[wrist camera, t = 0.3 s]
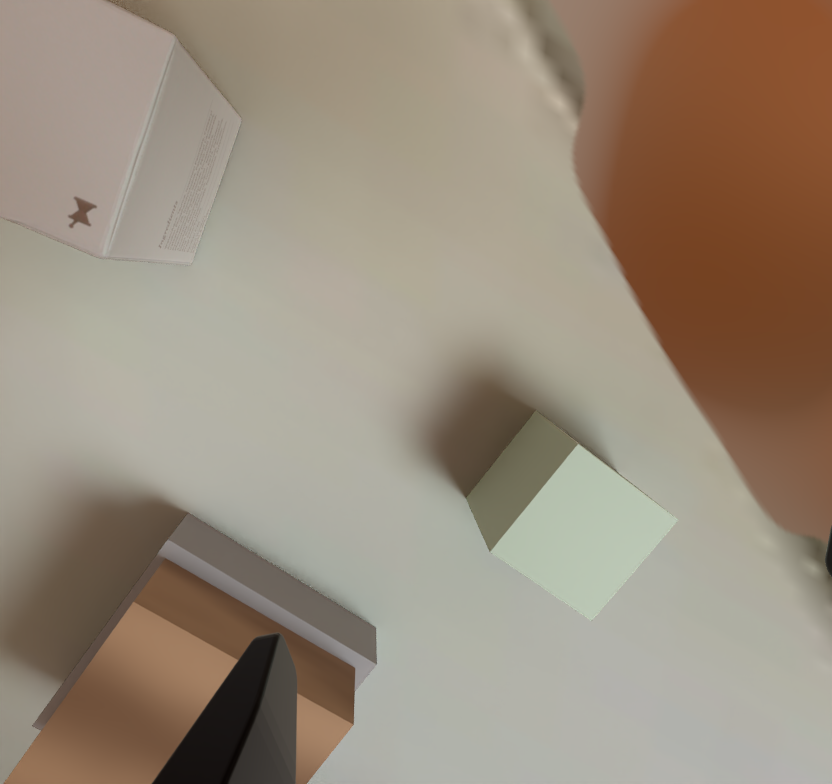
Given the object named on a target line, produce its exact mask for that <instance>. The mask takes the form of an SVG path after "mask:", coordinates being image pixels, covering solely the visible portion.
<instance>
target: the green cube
mask: <svg viewBox="0 0 832 784" xmlns="http://www.w3.org/2000/svg"><path fill="white" fill-rule="evenodd" d="M466 500H467V502H468V504H469V506H470V509H471V511H472V513H473V515H474V518H475V520H476V522H477V524H478V527H479V529H480V531H481V533H482V536H483V538H484V540H485V542H486V545H487V547H488V549H489V551H490V553H492V554H493V555H495V556H496V557H498V558H499V559H501V560H502V561H504V562H505V563H507V564H508V565H509V566H511V567H512V568H514V569H515V570H517V571H518V572H520V573H521V574H523V575H524V576H526V577H527V578H529V579H530V580H532V581H533V582H535V583H536V584H537V585H539V586H540V587H542V588H543V589H545V590H546V591H548V592H549V593H551V594H552V595H554V596H555V597H557V598H558V599H560V600H561V601H563V602H564V603H565V604H567V605H568V606H570V607H571V608H573V609H574V610H576V611H577V612H579V613H580V614H582V615H583V616H585V617H586V618H588V619H589V620H591V621H592V620H593V619H594V618H595V617H596V615H597V614H598V613H599V612H600V611H601V610H602V608H603V607H604V606H605V605H606V604H607V603H608V601H609V600H610V599H611V598H612V597H613V596H614V594H615V593H616V592H617V591H618V590H619V589H620V587H621V586H622V585H623V584H624V583H625V582H626V580H627V579H628V578H629V577H630V576H631V575H632V574H633V572H634V571H635V570H636V569H637V568H638V567H639V565H640V564H641V563H642V562H643V561H644V560H645V558H646V557H647V556H648V555H649V554H650V553H651V551H652V550H653V549H654V548H655V547H656V546H657V544H658V543H659V542H660V541H661V540H662V539H663V537H664V536H665V535H666V534H667V533H668V532H669V530H670V529H671V528H672V527H673V526H674V525H675V523H676V522H677V521H678V519H677V518H675V517H674V516H673V515H671V514H670V513H669V512H668V511H666V510H665V509H664V508H662V507H661V506H660V505H659V504H657V503H656V502H655V501H653V500H652V499H651V498H650V497H648V496H647V495H646V494H645V493H643V492H642V491H641V490H639V489H638V488H637V487H636V486H634V485H633V484H632V483H630V482H629V481H628V480H627V479H625V478H624V477H623V476H621V475H620V474H619V473H618V472H616V471H615V470H614V469H612V468H611V467H610V466H608V465H607V464H606V463H604V462H603V461H602V460H601V459H599V458H598V457H597V456H595V455H594V454H593V453H591V452H590V451H589V450H587V449H586V448H585V447H583V446H582V445H581V444H579V443H578V442H577V441H575V440H574V439H573V438H572V437H570V436H569V435H568V434H566V433H565V432H564V431H562V430H561V429H560V428H558V427H557V426H556V425H554V424H553V423H552V422H550V421H549V420H548V419H547V418H545V417H544V416H543V415H541V414H540V413H539V412H537V411H535V412H534V413H533V415H532V416H531V417H530V418H529V420H528V421H527V422H526V423H525V425H524V426H523V427H522V428H521V430H520V431H519V432H518V433H517V435H516V436H515V437H514V438H513V440H512V441H511V442H510V443H509V445H508V446H507V447H506V448H505V450H504V451H503V452H502V453H501V455H500V456H499V457H498V458H497V460H496V461H495V462H494V463H493V465H492V466H491V467H490V469H489V470H488V471H487V472H486V474H485V475H484V476H483V477H482V479H481V480H480V481H479V482H478V484H477V485H476V486H475V487H474V489H473V490H472V491H471V492H470V494H469V495H468V496H467V497H466Z"/></svg>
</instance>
